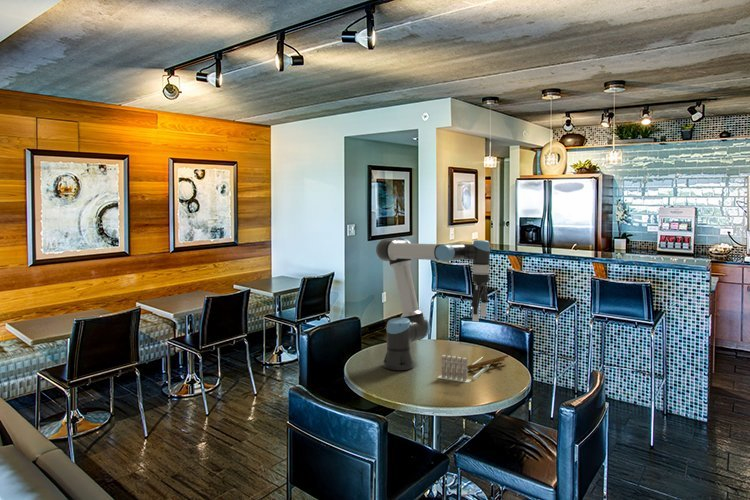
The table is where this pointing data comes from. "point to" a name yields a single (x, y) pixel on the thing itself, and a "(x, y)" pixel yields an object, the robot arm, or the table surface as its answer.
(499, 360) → the brown branch
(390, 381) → the table surface
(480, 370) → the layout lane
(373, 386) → the table surface
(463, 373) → the fixed fence segment
